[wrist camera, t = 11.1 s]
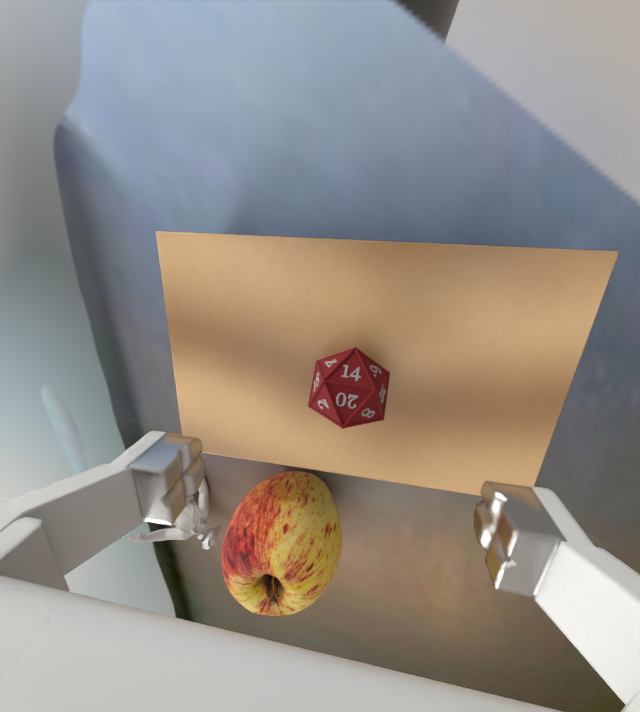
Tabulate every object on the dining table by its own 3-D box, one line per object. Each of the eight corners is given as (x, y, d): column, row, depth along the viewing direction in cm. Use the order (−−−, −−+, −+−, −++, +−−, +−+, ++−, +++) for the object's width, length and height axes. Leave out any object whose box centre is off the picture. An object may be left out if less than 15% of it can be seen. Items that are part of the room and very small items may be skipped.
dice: (393, 340, 16) (399, 368, 12) (378, 414, 17) (380, 459, 13) (322, 330, 16) (307, 354, 12) (314, 403, 18) (299, 443, 14)
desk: (215, 237, 22) (155, 231, 16) (540, 251, 19) (620, 251, 13) (226, 405, 27) (183, 450, 20) (487, 438, 23) (528, 503, 17)
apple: (272, 432, 27) (219, 528, 17) (364, 474, 26) (360, 593, 17) (244, 500, 30) (186, 612, 21) (325, 537, 30) (304, 667, 20)
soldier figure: (153, 422, 30) (236, 505, 27) (172, 434, 34) (246, 507, 31) (80, 487, 27) (164, 591, 24) (112, 491, 31) (186, 579, 28)
